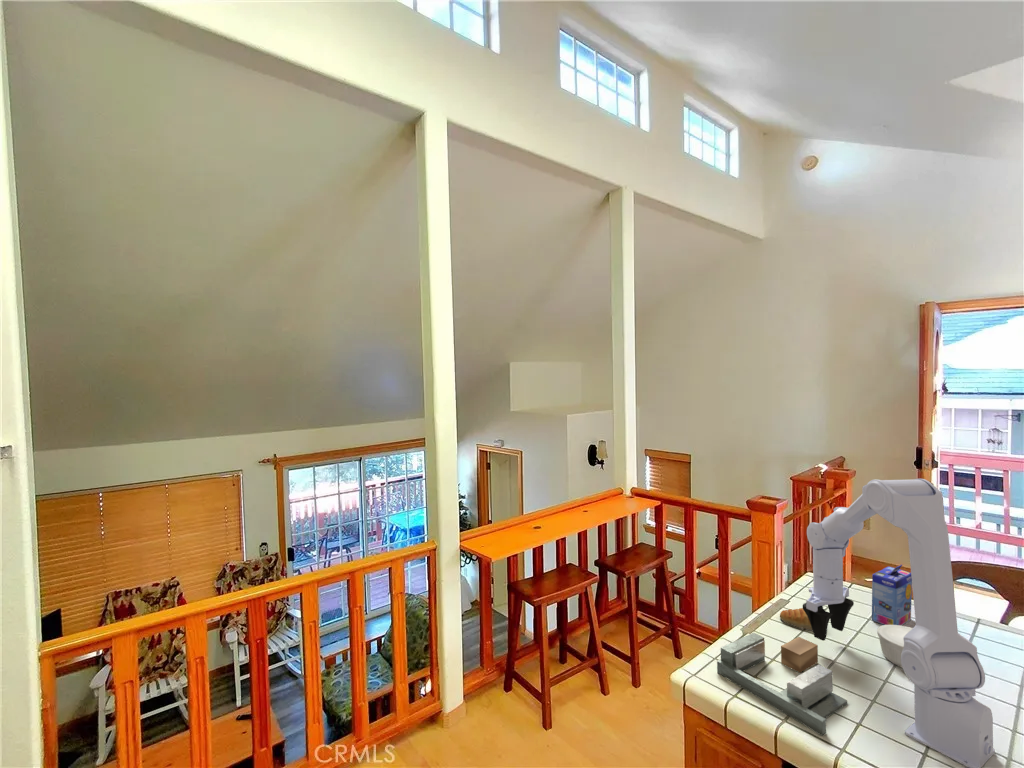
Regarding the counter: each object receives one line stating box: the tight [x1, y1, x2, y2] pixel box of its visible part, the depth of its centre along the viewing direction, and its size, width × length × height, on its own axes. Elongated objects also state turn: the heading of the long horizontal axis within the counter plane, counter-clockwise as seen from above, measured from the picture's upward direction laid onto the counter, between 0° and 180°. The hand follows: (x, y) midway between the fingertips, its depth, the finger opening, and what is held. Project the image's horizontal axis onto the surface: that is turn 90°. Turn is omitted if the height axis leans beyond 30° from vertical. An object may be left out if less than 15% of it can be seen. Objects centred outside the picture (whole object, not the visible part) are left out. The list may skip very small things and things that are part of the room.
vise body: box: [716, 632, 848, 736], centre depth 95 cm, size 21×13×5 cm, turn 30°
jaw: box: [786, 664, 834, 708], centre depth 91 cm, size 3×11×4 cm, turn 120°
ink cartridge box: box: [871, 564, 913, 626], centre depth 121 cm, size 10×6×14 cm, turn 122°
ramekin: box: [876, 625, 914, 669], centre depth 103 cm, size 11×11×5 cm
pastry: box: [779, 607, 812, 631], centre depth 120 cm, size 9×7×4 cm
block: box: [780, 636, 819, 674], centre depth 104 cm, size 4×7×4 cm, turn 120°
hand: (828, 633), depth 109 cm, fingers open, 7 cm apart
